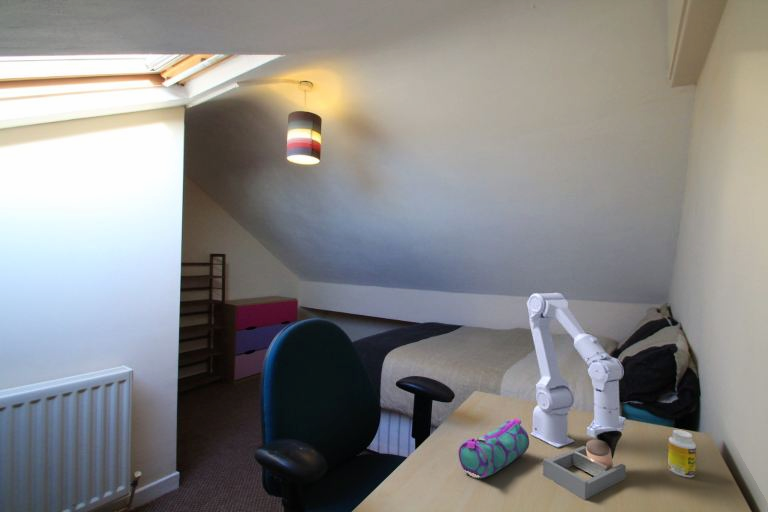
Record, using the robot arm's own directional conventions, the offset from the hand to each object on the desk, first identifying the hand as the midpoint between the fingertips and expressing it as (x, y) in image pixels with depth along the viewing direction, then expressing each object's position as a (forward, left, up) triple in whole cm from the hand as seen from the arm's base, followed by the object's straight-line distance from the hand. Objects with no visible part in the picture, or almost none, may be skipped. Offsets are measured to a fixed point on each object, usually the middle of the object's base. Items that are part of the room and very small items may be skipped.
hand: (607, 458), depth 99 cm
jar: (0, -2, -3) cm, 3 cm away
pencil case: (-16, -24, -3) cm, 29 cm away
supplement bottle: (+10, +16, -3) cm, 19 cm away
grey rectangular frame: (-1, -8, -3) cm, 9 cm away
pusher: (-1, -6, -2) cm, 7 cm away
